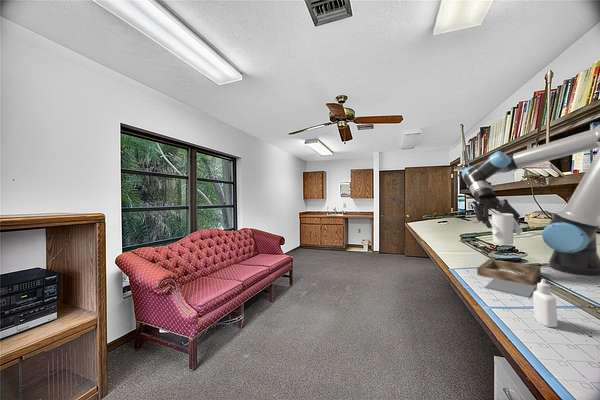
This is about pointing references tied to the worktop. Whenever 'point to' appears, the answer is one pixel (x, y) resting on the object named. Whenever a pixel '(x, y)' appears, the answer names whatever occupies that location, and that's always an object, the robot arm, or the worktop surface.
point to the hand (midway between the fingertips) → (508, 233)
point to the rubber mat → (511, 287)
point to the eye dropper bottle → (545, 305)
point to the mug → (503, 228)
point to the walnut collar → (529, 279)
